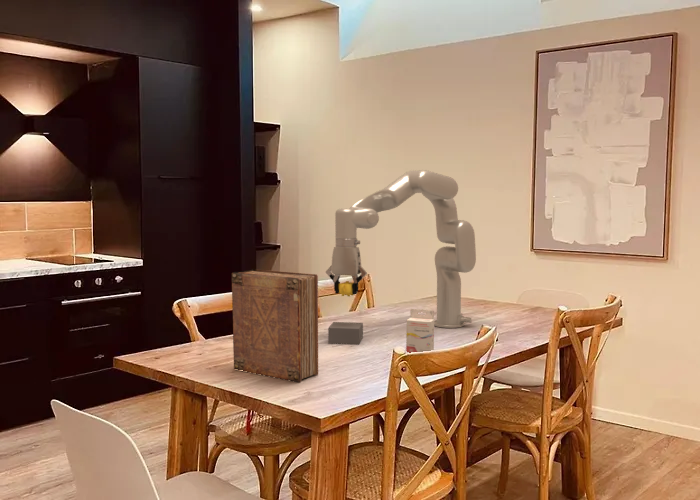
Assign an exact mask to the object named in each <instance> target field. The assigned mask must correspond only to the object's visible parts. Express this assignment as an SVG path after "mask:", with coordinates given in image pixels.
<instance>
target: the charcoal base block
mask: <svg viewBox="0 0 700 500" xmlns="http://www.w3.org/2000/svg"><path fill="white" fill-rule="evenodd" d="M327 329H328V330H327V331H328V332H327V334H328V336H327V337H328V338H327V339H328V340H327V341H328V343H327V344H328V345H348V346H350V345H351V346H352V345H353V346H359V345H360V344H361V342H362V341H363V339H364V322H356V321H355V322H353V321H351V322H350V321H348V322H347V321H346V322H345V321H344V322H343V321H333V322H332V323H330V325H329V326H328V328H327Z"/></svg>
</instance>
